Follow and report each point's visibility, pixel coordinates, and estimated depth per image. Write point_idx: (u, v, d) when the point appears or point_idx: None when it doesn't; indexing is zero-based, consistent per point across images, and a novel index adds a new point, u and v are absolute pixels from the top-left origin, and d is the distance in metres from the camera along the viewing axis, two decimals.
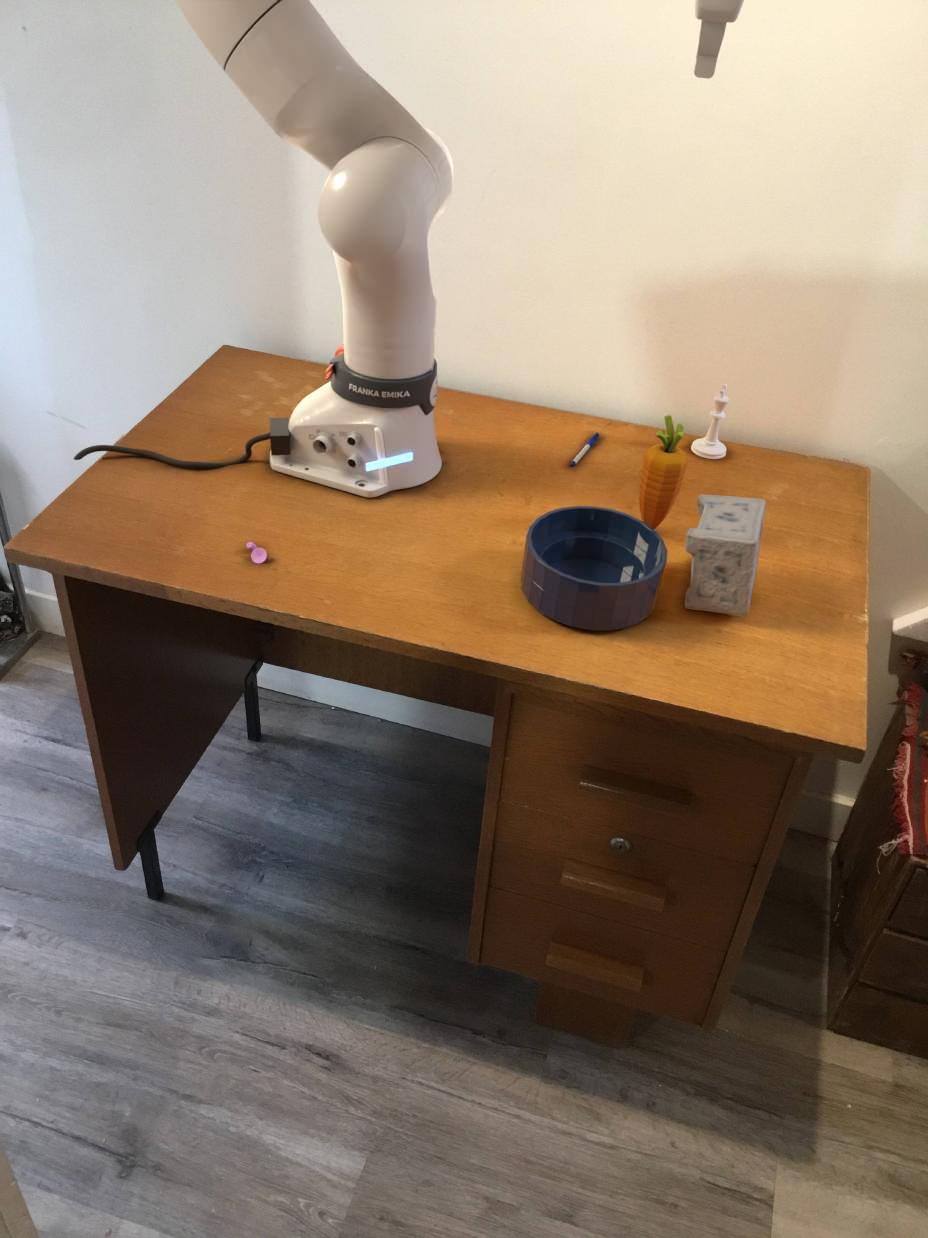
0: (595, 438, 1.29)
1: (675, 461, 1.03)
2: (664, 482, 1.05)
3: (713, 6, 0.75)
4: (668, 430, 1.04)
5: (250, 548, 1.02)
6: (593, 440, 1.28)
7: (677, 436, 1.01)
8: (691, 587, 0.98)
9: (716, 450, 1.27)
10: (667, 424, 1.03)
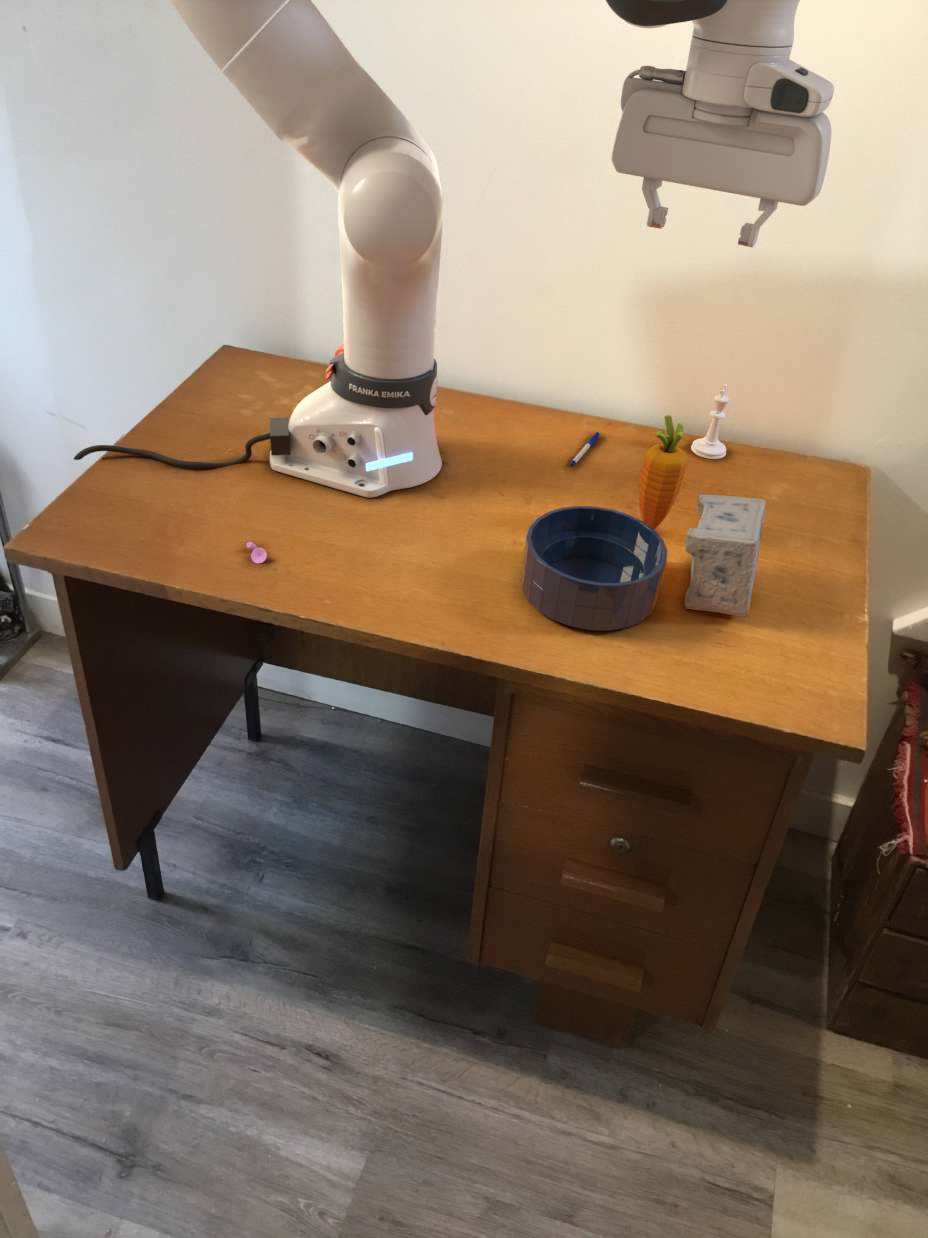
0: (595, 437, 1.29)
1: (675, 461, 1.03)
2: (664, 482, 1.05)
3: (817, 193, 0.84)
4: (668, 430, 1.04)
5: (250, 548, 1.02)
6: (593, 439, 1.28)
7: (677, 436, 1.01)
8: (691, 587, 0.98)
9: (716, 450, 1.27)
10: (667, 424, 1.03)
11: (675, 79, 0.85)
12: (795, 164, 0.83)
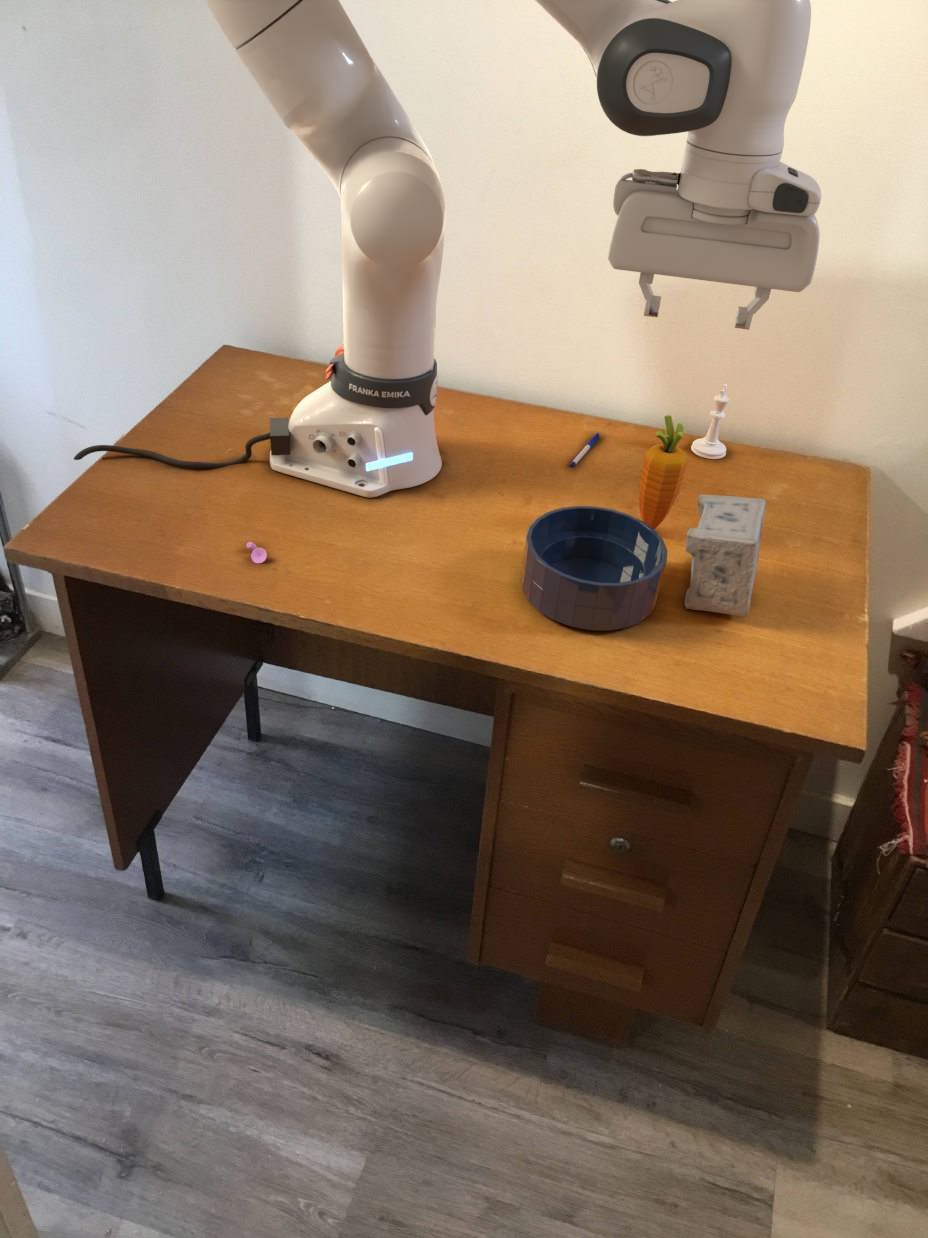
0: (595, 439, 1.29)
1: (675, 461, 1.03)
2: (664, 482, 1.05)
3: None
4: (668, 430, 1.04)
5: (250, 548, 1.02)
6: (593, 441, 1.28)
7: (677, 436, 1.01)
8: (691, 587, 0.98)
9: (716, 450, 1.27)
10: (667, 424, 1.03)
11: (670, 182, 0.87)
12: (792, 256, 0.88)
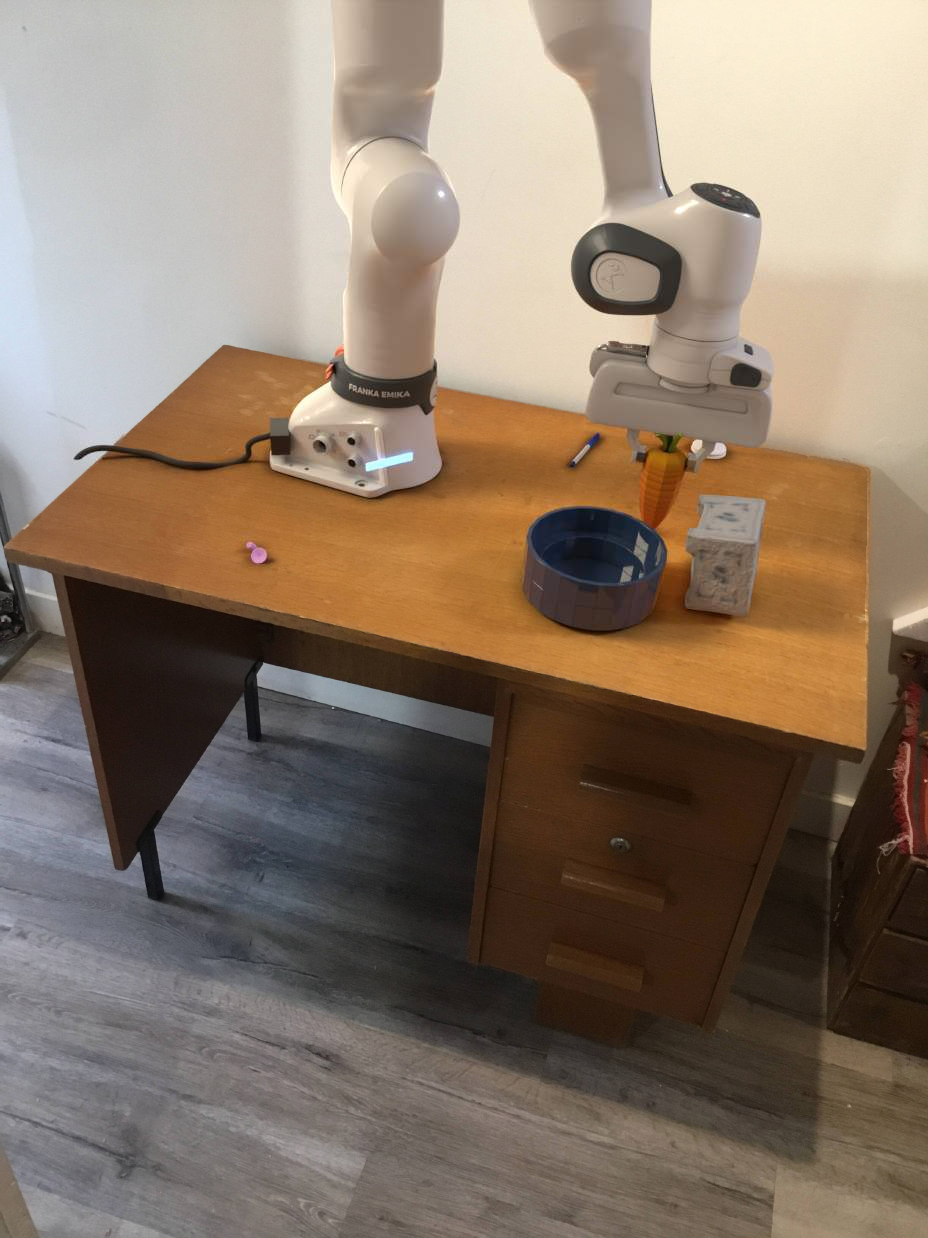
0: (596, 438, 1.29)
1: (675, 461, 1.03)
2: (663, 482, 1.05)
3: None
4: None
5: (250, 548, 1.02)
6: (593, 440, 1.28)
7: (677, 436, 1.01)
8: (691, 587, 0.98)
9: (716, 450, 1.27)
10: None
11: (639, 353, 0.98)
12: (749, 420, 0.98)
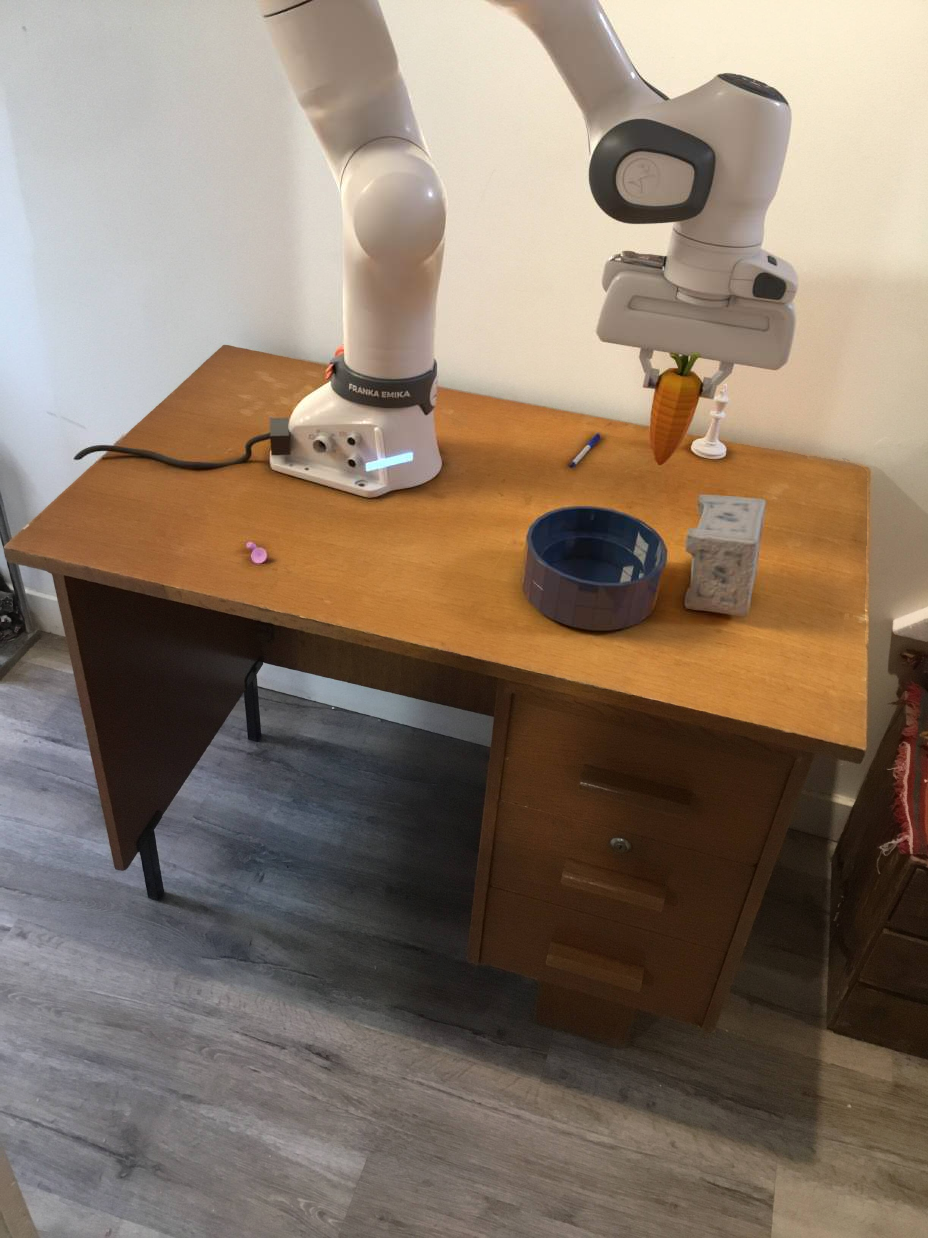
0: (596, 439, 1.29)
1: (690, 384, 0.98)
2: (677, 407, 0.99)
3: None
4: None
5: (250, 548, 1.02)
6: (594, 441, 1.28)
7: (693, 356, 0.96)
8: (691, 587, 0.98)
9: (716, 450, 1.27)
10: None
11: (656, 264, 0.92)
12: (770, 338, 0.93)
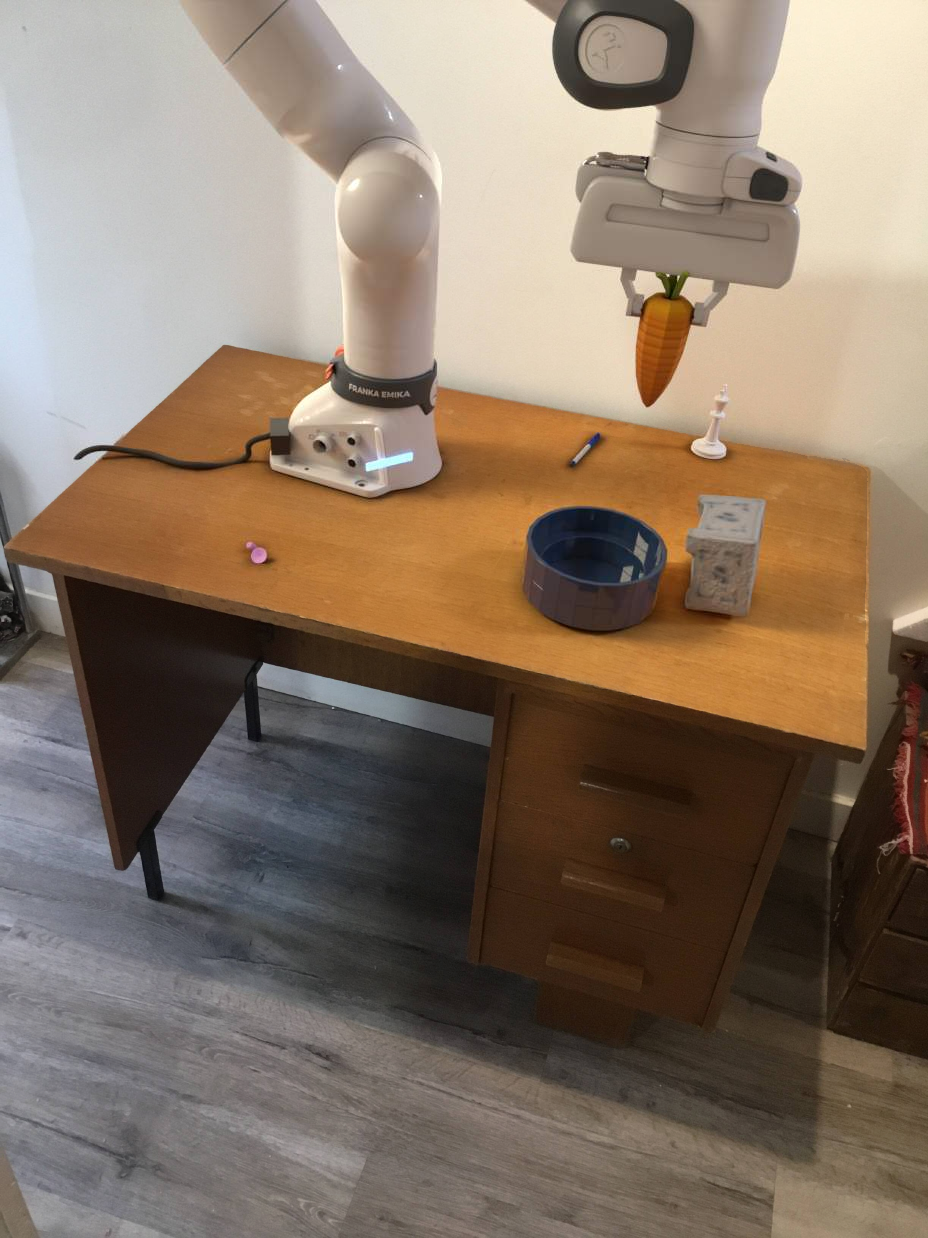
0: (596, 438, 1.29)
1: (680, 309, 0.85)
2: (665, 337, 0.86)
3: None
4: None
5: (250, 548, 1.02)
6: (594, 440, 1.28)
7: (682, 275, 0.83)
8: (691, 587, 0.98)
9: (716, 450, 1.27)
10: None
11: (637, 166, 0.80)
12: (771, 250, 0.80)
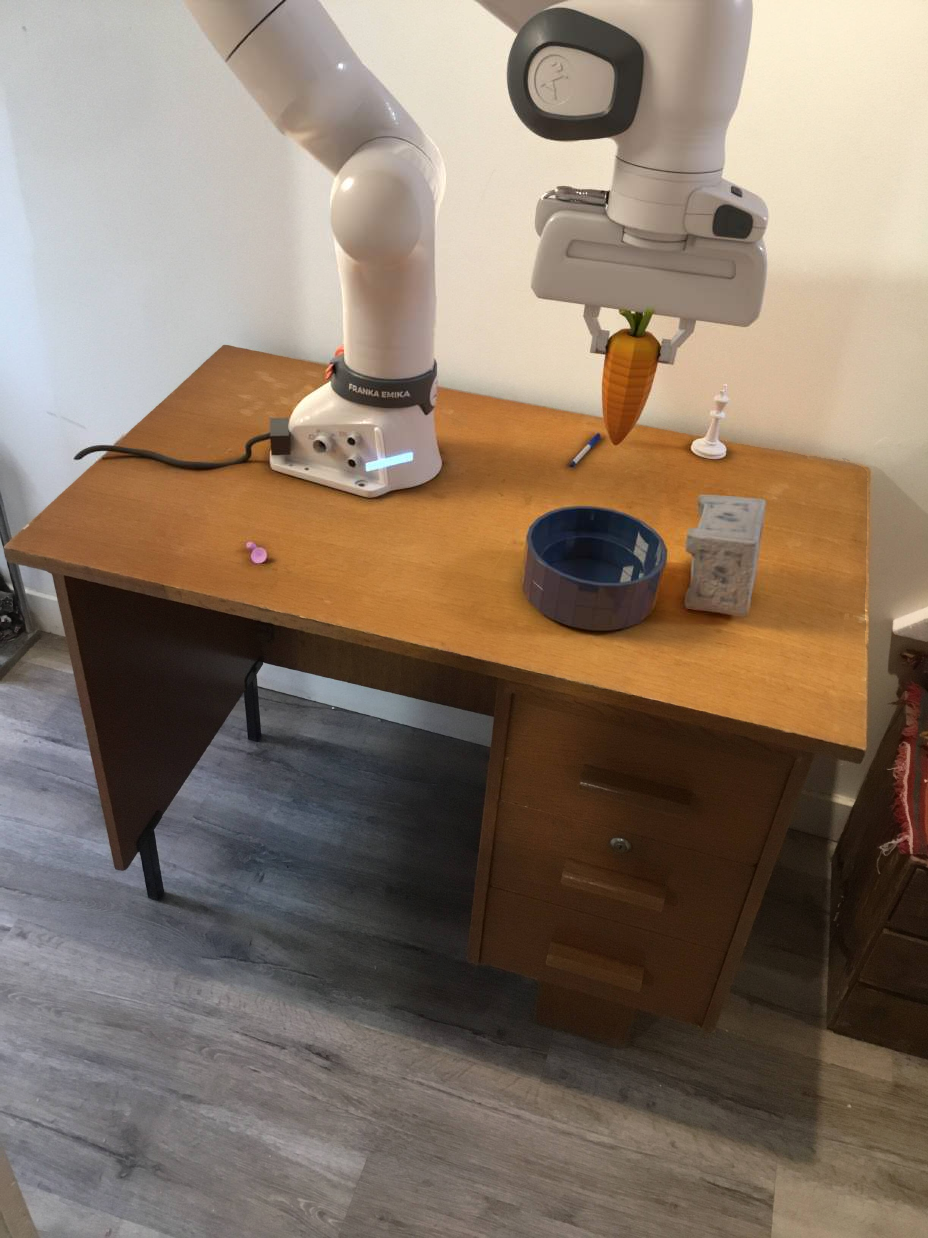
0: (596, 438, 1.29)
1: (645, 347, 0.82)
2: (631, 375, 0.83)
3: None
4: None
5: (250, 548, 1.02)
6: (594, 440, 1.28)
7: (646, 312, 0.80)
8: (691, 587, 0.98)
9: (716, 450, 1.27)
10: None
11: (597, 201, 0.76)
12: (737, 287, 0.77)
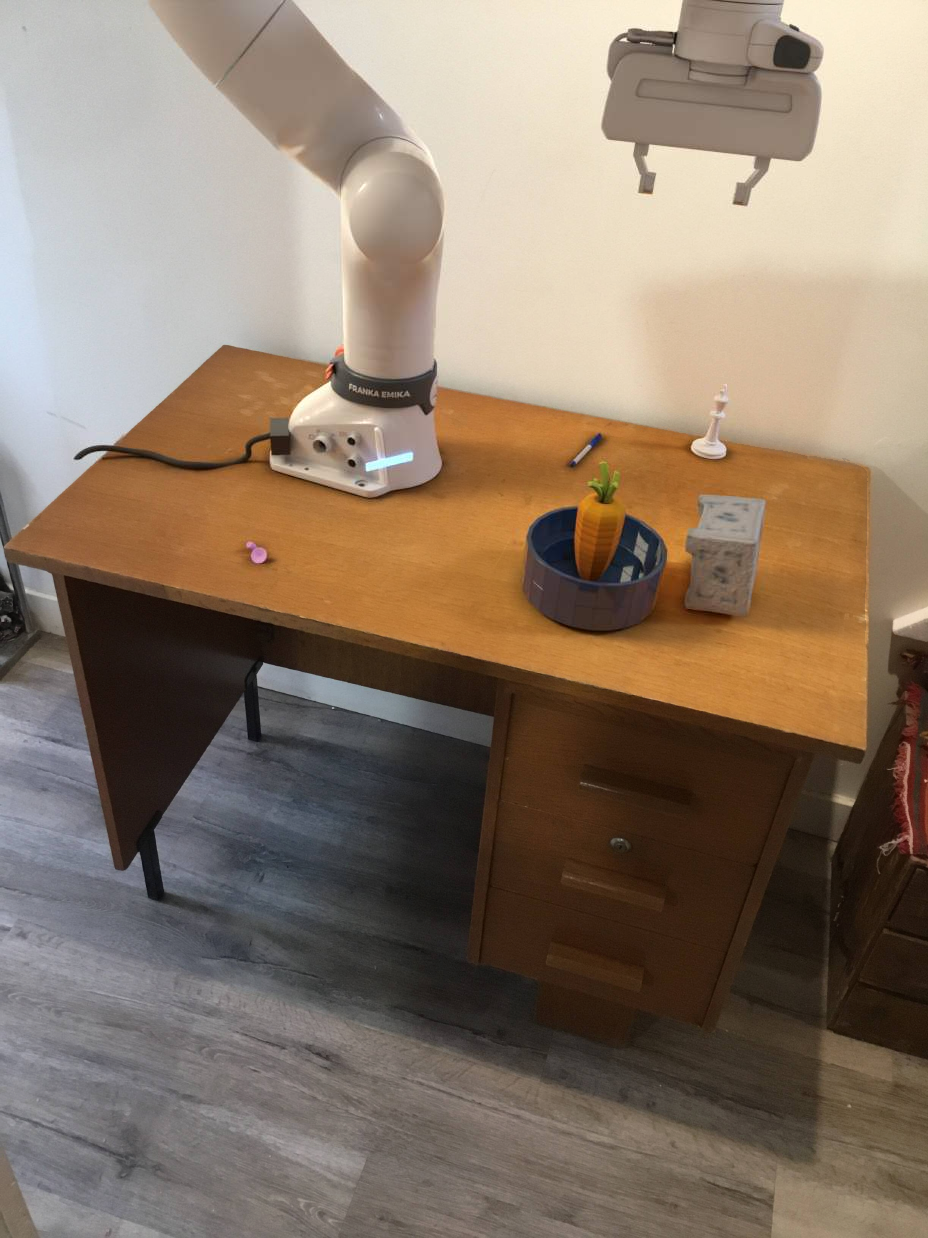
0: (597, 439, 1.29)
1: (611, 513, 0.93)
2: (599, 536, 0.94)
3: None
4: (603, 479, 0.93)
5: (250, 548, 1.02)
6: (595, 441, 1.28)
7: (611, 487, 0.91)
8: (691, 587, 0.98)
9: (716, 450, 1.27)
10: (602, 472, 0.93)
11: (666, 41, 0.84)
12: (793, 120, 0.84)
